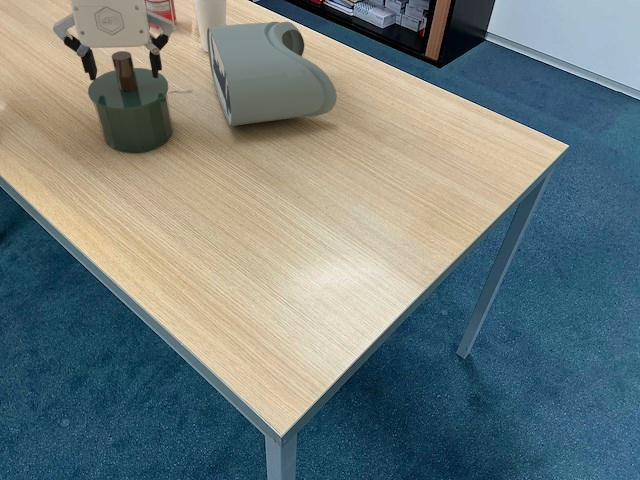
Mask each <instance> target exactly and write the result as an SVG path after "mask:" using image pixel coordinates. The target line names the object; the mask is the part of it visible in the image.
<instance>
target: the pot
mask: <svg viewBox="0 0 640 480" xmlns="http://www.w3.org/2000/svg"><path fill="white" fill-rule="evenodd" d="M93 107H94V110H95V114H96V117H97V120H98V123H99V127H100V131H101V134H102V137H103V139H104V142H105V144H106V145H108V147H109V148H111V149H113V150H115V151H118V152H121V153H126V154H140V153H147V152H151V151H154V150H157V149H158V148H161V147H162V146H164V145H165V144H166V143H167V142H168V141H170V139H171V138H172V136H173V132H174V131H173V130H174V129H173V121H172V114H171V110H170V103H169V98H168V93H167V94H166V95H165V96H164V97H163V99H161V100H160V101H159V102H157V103H155V104H153V105H151V106H148V107H145V108H142V109H137V110H131V111H115V110H109V109H105V108H102V107H99V106H97V105H96V104H94V103H93Z"/></svg>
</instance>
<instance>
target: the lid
mask: <svg viewBox="0 0 640 480" xmlns="http://www.w3.org/2000/svg"><path fill="white" fill-rule="evenodd" d="M111 61H112V65H113V69H114V70H110V71H108V72H105V73H102V74H101V75H99V76H97V77H96V79H95V80H92V82H91V83H90V84H89V86H88V88H87V95H88V98H89V100H90V101H91V102H92V103H93V105H94V104H96V105H97V106H99V107H102V108H105V109H109V110H115V111H131V110H137V109H142V108H145V107H148V106H151V105H153V104H155V103H157V102H159V101H160V100H161V99H163V97H164V96H165V95H166V94H167V95H168V92H169V82H168V80H167V79H166V77H165V75H163V74H161V73H160V72H158V78H154V77H153V74H152V69H150V68H149V69H148V68H145V67H144V68H142V67H135V66H134V65H135V64H134V60H133V55H132V53H131V52H130V51H126V50H120V51H116V52H113V53H112V54H111Z"/></svg>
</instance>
